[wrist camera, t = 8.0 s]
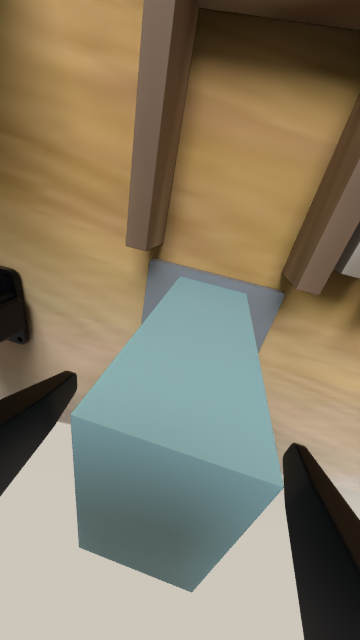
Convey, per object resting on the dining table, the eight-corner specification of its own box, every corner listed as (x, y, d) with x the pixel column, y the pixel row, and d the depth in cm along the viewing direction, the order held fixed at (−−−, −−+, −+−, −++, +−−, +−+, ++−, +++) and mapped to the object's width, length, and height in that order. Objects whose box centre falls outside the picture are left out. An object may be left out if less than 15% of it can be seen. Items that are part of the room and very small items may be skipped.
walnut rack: (147, 239, 13) (125, 246, 10) (180, -38, 8) (155, -158, 5) (384, 298, 12) (429, 323, 9) (587, 12, 7) (808, -111, 4)
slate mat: (139, 358, 17) (136, 363, 17) (152, 257, 13) (149, 259, 13) (238, 388, 16) (238, 394, 16) (283, 291, 13) (285, 294, 12)
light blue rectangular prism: (161, 365, 16) (79, 547, 7) (180, 276, 13) (70, 414, 4) (213, 381, 16) (191, 592, 7) (246, 293, 12) (283, 487, 4)
